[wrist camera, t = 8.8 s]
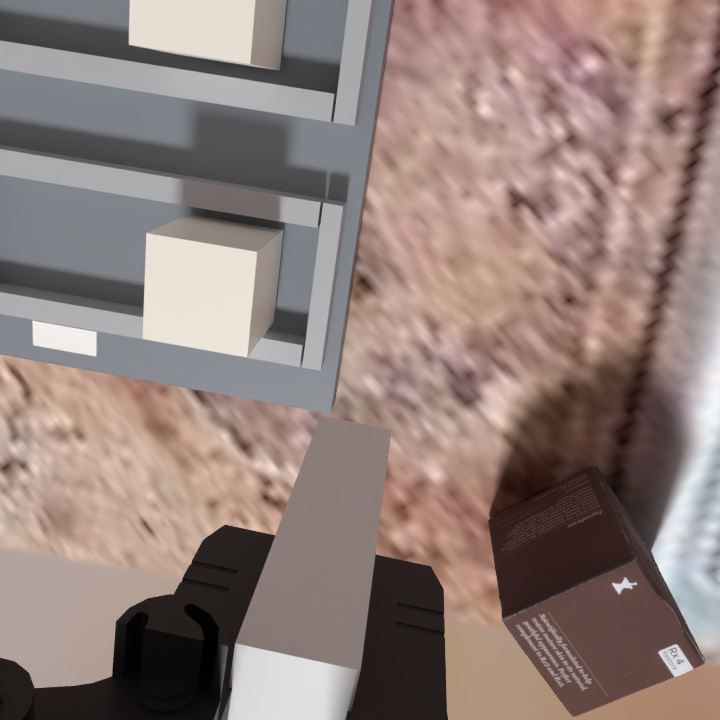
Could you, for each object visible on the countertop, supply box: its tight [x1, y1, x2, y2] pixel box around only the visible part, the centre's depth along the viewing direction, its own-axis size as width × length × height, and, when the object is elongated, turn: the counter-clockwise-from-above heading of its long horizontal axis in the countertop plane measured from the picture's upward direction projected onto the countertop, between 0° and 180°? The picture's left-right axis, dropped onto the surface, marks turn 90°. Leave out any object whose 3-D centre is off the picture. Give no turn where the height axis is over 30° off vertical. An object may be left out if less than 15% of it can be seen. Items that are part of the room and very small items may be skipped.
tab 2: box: [143, 214, 284, 357], centre depth 27 cm, size 4×4×4 cm
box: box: [488, 467, 705, 716], centre depth 30 cm, size 6×6×7 cm
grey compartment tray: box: [0, 0, 395, 414], centre depth 28 cm, size 22×17×3 cm
